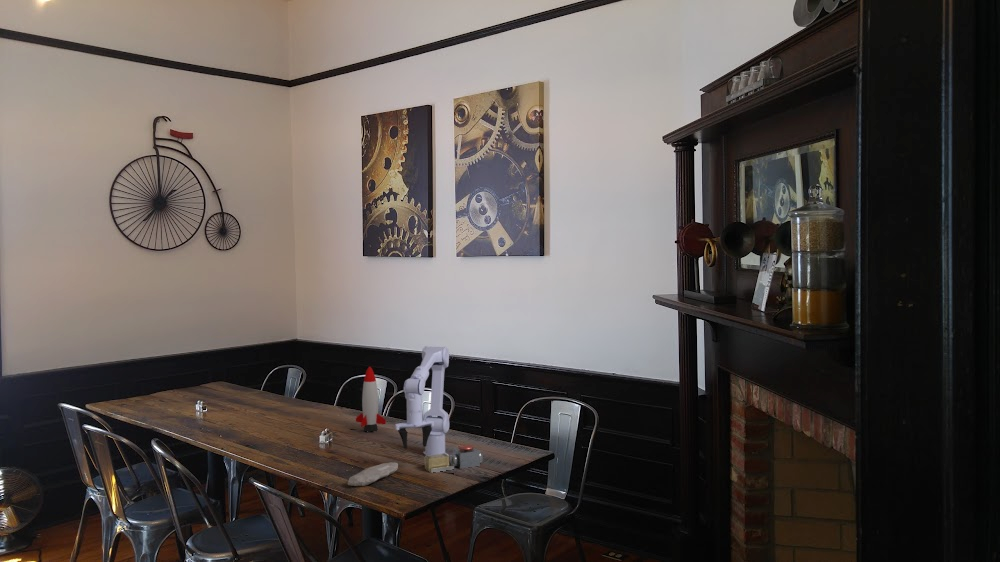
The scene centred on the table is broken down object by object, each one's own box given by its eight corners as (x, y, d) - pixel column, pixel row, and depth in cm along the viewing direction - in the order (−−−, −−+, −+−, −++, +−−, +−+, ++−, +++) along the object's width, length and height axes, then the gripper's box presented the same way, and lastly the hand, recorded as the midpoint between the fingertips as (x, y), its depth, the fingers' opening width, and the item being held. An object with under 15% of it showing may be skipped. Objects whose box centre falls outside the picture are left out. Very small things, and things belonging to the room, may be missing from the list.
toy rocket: (354, 430, 326) (361, 366, 331) (378, 432, 330) (384, 368, 336) (360, 432, 315) (367, 366, 321) (384, 433, 320) (391, 368, 325)
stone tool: (339, 473, 244) (385, 455, 265) (339, 487, 244) (386, 468, 265) (363, 477, 238) (409, 458, 259) (364, 492, 238) (410, 472, 259)
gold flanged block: (424, 468, 263) (424, 455, 263) (444, 466, 266) (444, 453, 266) (429, 472, 259) (428, 459, 258) (449, 469, 262) (449, 456, 262)
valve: (424, 467, 265) (424, 448, 265) (476, 460, 274) (476, 441, 273) (431, 473, 257) (431, 453, 257) (484, 465, 266) (484, 446, 266)
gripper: (398, 414, 252) (399, 452, 252) (436, 410, 258) (437, 447, 258) (393, 411, 258) (393, 447, 259) (430, 407, 264) (430, 442, 265)
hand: (415, 447), depth 259 cm, fingers open, 7 cm apart
